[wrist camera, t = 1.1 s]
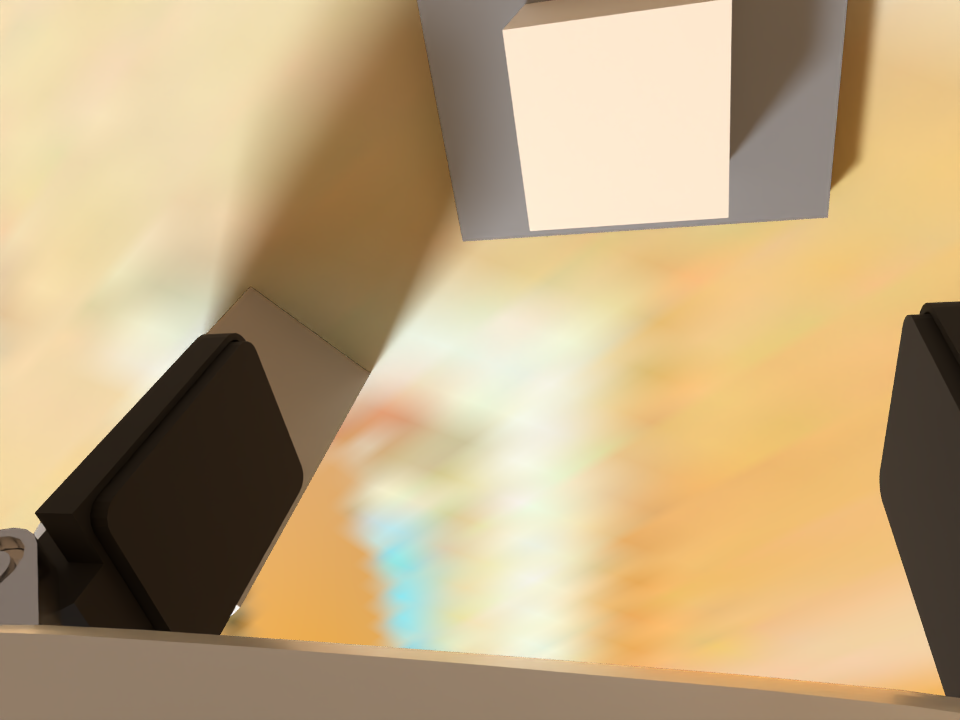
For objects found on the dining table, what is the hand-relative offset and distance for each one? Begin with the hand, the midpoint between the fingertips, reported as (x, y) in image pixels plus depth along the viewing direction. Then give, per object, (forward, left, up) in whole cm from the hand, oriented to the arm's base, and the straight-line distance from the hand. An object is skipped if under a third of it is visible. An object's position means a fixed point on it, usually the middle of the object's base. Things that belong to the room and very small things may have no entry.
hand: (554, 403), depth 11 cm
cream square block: (0, 0, -17) cm, 17 cm away
